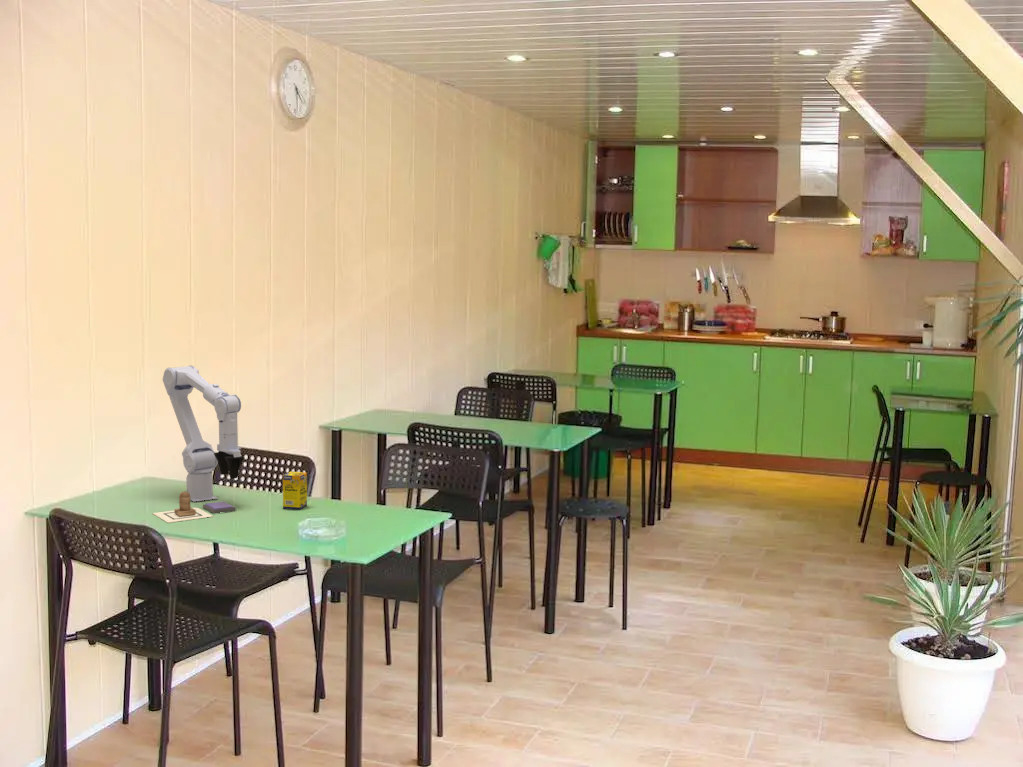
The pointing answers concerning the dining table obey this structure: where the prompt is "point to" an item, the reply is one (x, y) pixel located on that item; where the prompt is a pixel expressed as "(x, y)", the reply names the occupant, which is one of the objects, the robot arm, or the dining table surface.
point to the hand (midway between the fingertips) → (229, 476)
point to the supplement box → (295, 490)
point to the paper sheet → (172, 517)
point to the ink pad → (219, 507)
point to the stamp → (184, 506)
